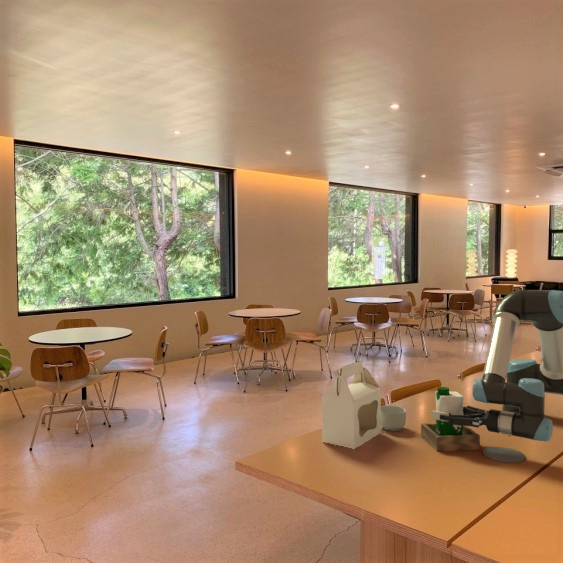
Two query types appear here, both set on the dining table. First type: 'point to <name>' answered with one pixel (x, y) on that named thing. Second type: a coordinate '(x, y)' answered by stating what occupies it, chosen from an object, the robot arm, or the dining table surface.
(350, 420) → the gable box
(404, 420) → the teacup
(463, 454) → the dining table surface
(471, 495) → the dining table surface
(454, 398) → the soya milk
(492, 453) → the grey coaster
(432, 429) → the walnut crate
